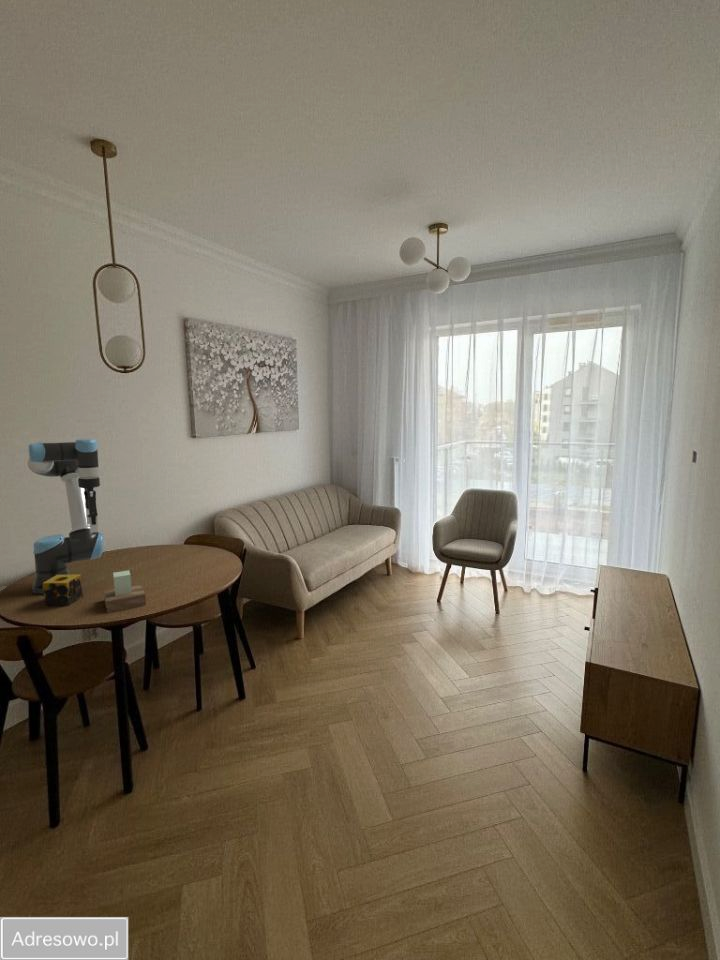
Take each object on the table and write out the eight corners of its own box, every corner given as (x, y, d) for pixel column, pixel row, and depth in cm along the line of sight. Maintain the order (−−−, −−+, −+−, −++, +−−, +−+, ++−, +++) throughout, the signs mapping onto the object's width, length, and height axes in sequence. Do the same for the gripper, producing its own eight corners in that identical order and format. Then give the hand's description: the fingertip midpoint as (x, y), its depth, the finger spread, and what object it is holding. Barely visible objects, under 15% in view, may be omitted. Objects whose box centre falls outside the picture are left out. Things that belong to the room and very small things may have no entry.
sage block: (114, 591, 192) (113, 572, 191) (130, 588, 195) (129, 570, 194) (115, 596, 187) (113, 577, 186) (131, 593, 190) (130, 574, 189)
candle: (83, 596, 198) (81, 574, 197) (69, 606, 188) (67, 582, 187) (59, 596, 198) (57, 574, 196) (44, 606, 188) (42, 582, 186)
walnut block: (104, 601, 194) (103, 590, 193) (140, 594, 202) (140, 583, 201) (107, 613, 182) (106, 601, 182) (146, 605, 190) (145, 594, 189)
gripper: (75, 473, 194) (79, 522, 198) (80, 482, 174) (84, 537, 178) (96, 472, 198) (99, 520, 202) (103, 481, 178) (106, 534, 182)
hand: (92, 528), depth 190 cm, fingers open, 13 cm apart
